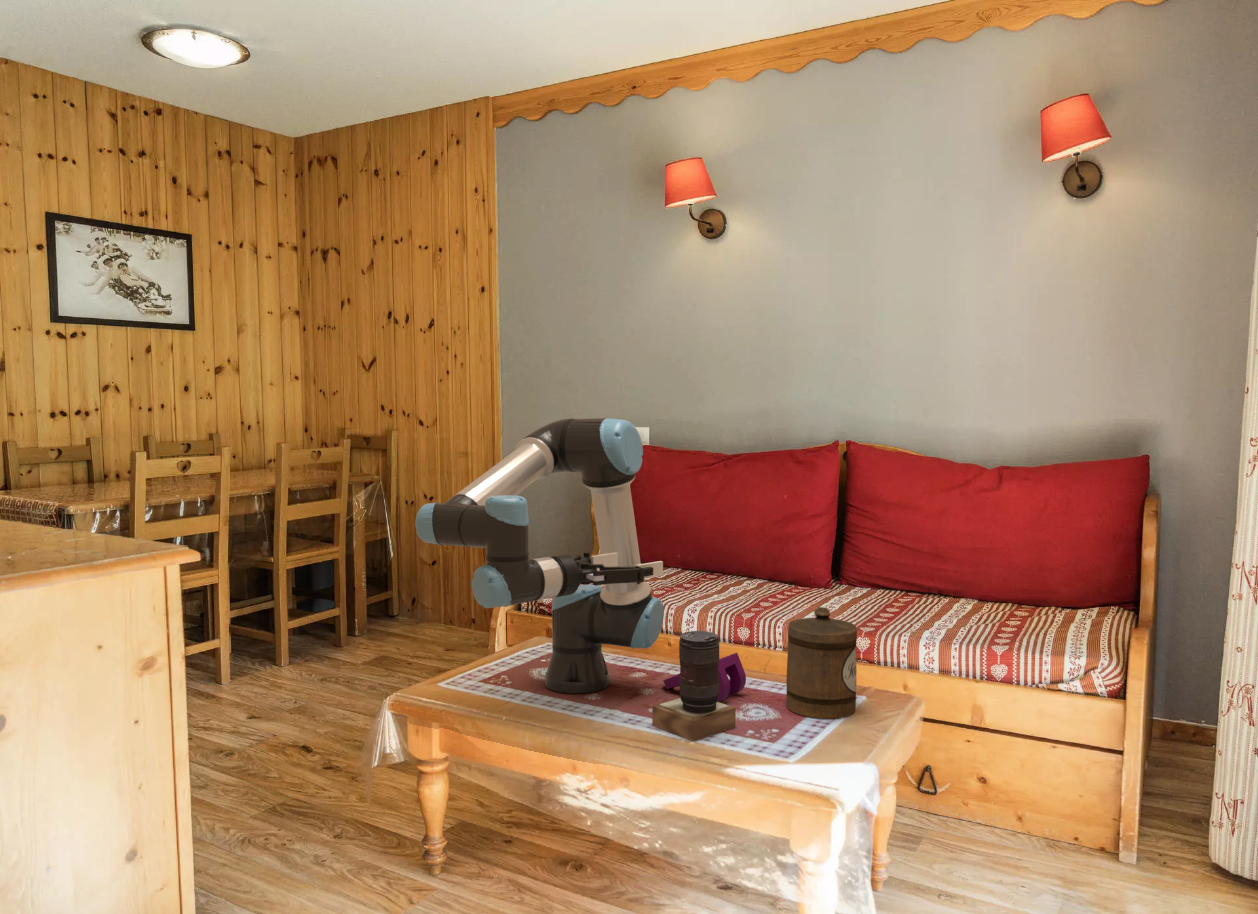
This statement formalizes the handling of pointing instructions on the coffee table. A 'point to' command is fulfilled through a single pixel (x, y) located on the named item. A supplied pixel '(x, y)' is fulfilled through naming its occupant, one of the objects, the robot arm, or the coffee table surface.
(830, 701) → the wooden container
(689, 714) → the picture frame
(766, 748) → the coffee table surface
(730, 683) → the mounting bracket
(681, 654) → the camera lens
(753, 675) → the coffee table surface
